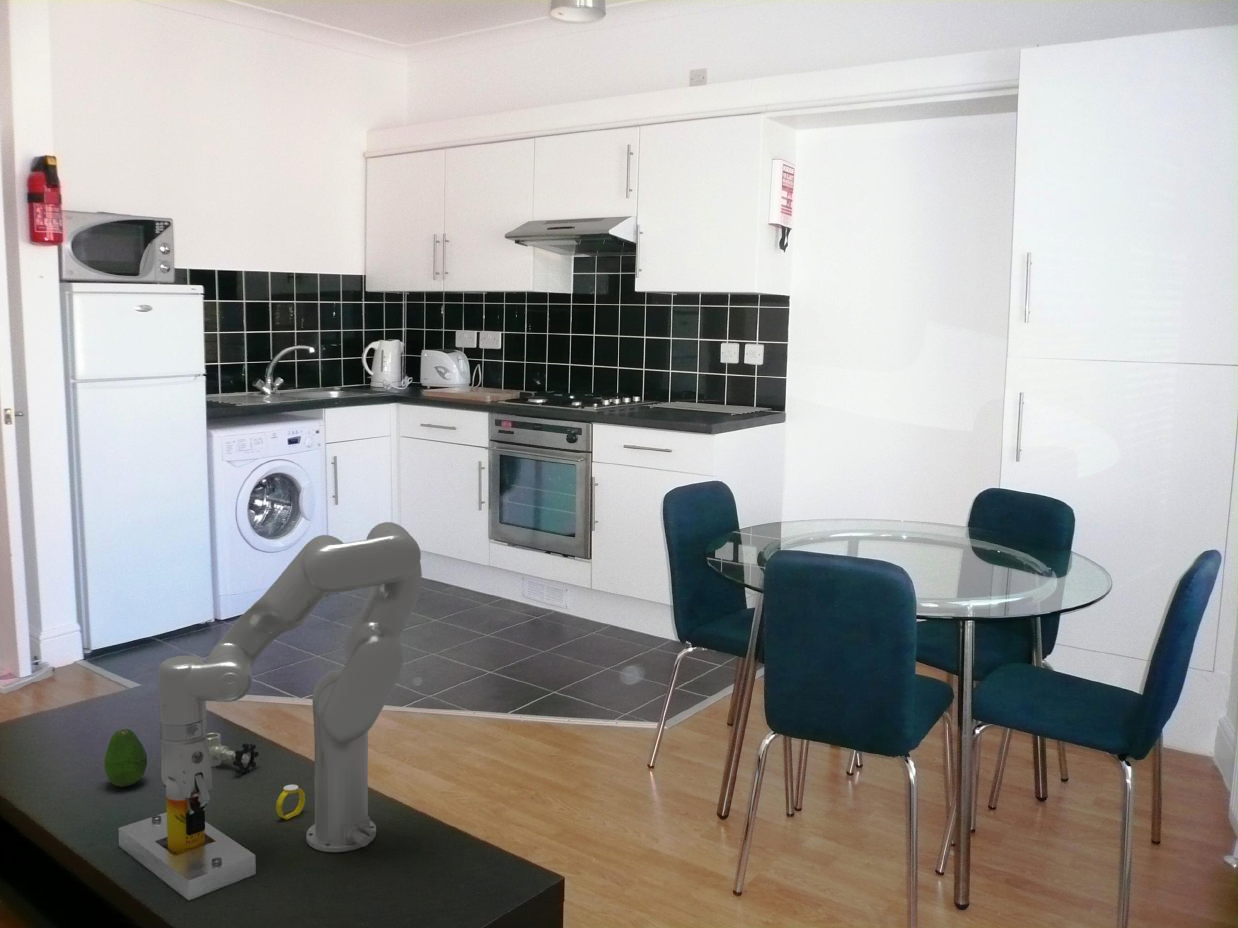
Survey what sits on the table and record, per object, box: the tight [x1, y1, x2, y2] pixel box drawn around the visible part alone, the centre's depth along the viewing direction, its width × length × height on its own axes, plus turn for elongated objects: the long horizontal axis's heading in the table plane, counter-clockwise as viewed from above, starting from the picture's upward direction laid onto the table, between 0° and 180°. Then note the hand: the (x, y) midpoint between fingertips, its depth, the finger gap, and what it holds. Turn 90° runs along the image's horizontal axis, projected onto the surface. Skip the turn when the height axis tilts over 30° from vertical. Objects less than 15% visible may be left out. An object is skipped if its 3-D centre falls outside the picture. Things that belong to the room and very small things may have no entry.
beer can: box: [165, 777, 205, 856], centre depth 186 cm, size 6×6×15 cm
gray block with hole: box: [118, 811, 257, 901], centre depth 187 cm, size 26×12×4 cm, turn 49°
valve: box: [205, 732, 260, 775], centre depth 225 cm, size 7×7×12 cm
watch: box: [275, 784, 306, 821], centre depth 205 cm, size 6×3×6 cm, turn 147°
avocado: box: [103, 728, 148, 788], centre depth 215 cm, size 8×8×12 cm
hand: (186, 824), depth 187 cm, fingers closed on beer can, 6 cm apart
